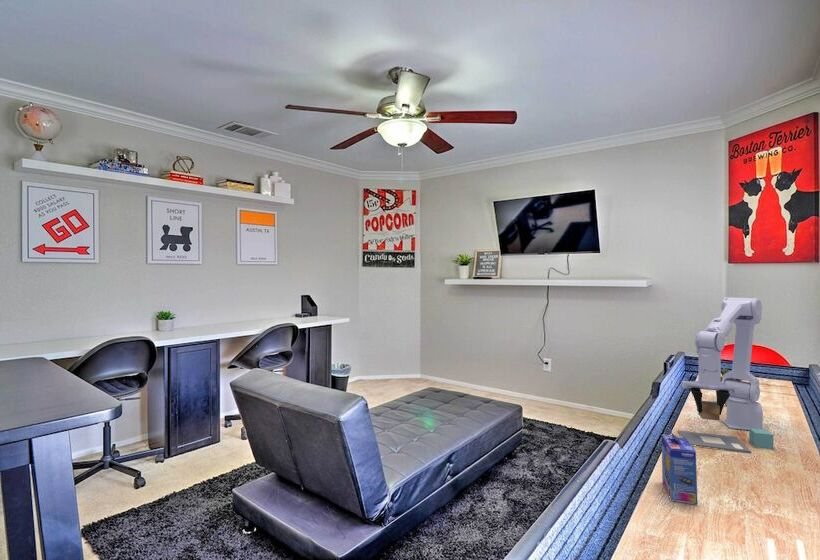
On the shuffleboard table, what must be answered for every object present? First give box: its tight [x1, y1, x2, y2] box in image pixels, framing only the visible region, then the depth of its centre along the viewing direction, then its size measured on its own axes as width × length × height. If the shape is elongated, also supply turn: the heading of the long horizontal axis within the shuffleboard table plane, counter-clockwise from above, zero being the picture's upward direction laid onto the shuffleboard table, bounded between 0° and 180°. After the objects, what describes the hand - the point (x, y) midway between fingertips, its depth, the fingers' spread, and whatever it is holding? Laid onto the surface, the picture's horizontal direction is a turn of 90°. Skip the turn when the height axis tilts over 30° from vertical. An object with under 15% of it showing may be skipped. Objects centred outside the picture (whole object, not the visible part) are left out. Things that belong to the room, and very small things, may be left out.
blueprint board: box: [677, 429, 752, 454], centre depth 133 cm, size 16×12×1 cm
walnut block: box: [697, 400, 721, 421], centre depth 135 cm, size 4×4×4 cm
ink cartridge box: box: [661, 428, 699, 505], centre depth 102 cm, size 10×6×14 cm, turn 161°
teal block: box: [748, 428, 774, 451], centre depth 130 cm, size 4×4×4 cm
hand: (709, 412), depth 135 cm, fingers closed on walnut block, 4 cm apart
